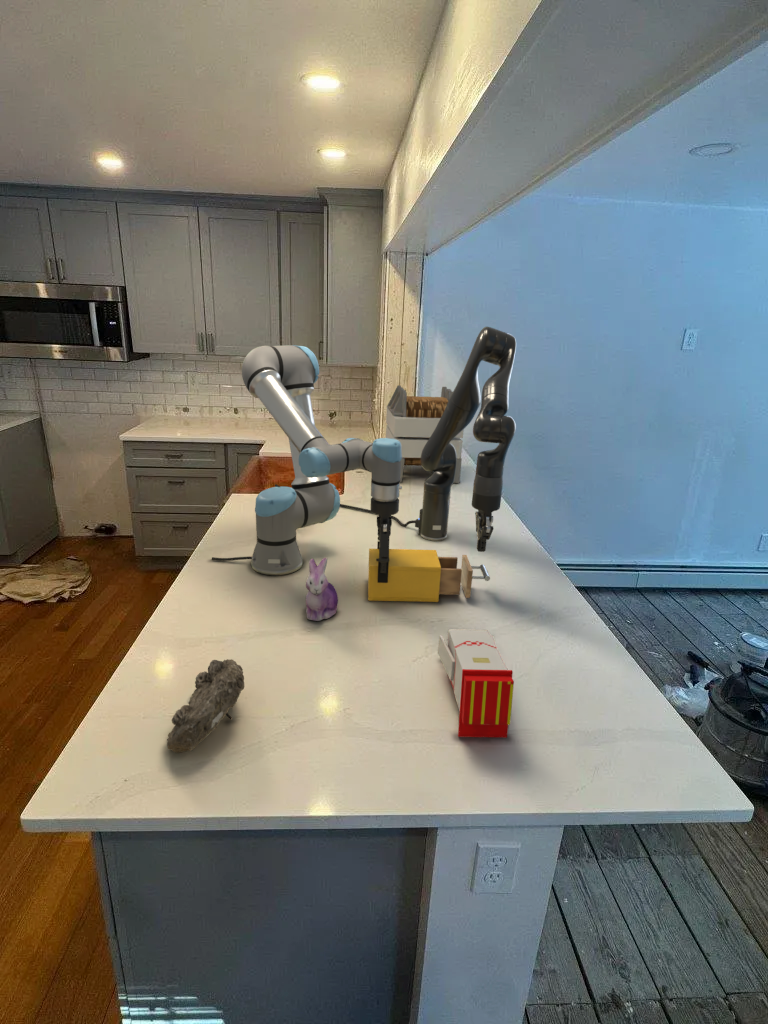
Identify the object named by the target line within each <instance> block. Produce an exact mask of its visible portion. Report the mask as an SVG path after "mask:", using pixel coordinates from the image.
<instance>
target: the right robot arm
mask: <svg viewBox="0 0 768 1024" xmlns="http://www.w3.org/2000/svg"><path fill="white" fill-rule="evenodd" d="M516 351H517V340H516V337H515V336H514V335H513V334H511V333H508V332H506V331H503V330H499V329H497V328H494V327H491V326H484V327H483V328H482V329H481V330H480V331H479V333H478V335H477V337H476V338H475V341H474V343H473V346H472V349H471V351H470V354H469V356H468V359H467V361H466V364H465V366H464V368H463V370H462V372H461V375H460V377H459V379H458V381H457V383H456V385H455V387H454V389H453V390H452V392H453V393H452V395H451V397H450V399H449V401H448V403H447V406H446V408H445V410H444V412H443V414H442V416H441V418H440V420H439V422H438V424H437V426H436V428H435V430H434V432H433V433H432V435H431V437H430V438H429V440H428V441H427V443H426V444H425V446H424V448H423V450H422V453H421V465H422V466H421V467H422V469H423V470H424V471H426V472H428V473H432V474H431V475H430V476H429V477H427V478H426V479H425V480H424V482H423V493H422V496H423V497H422V506H421V508H420V509H419V516H418V518H416V519H415V520H407V522H405V523H402V521H401V520H400V519H399V518H397V517H396V516H394V515H390V516H389V517H391V520H394V521H396V522H397V523H398V525H399V526H401V527H404V528H406V527H407V526H409V525H411V524H414V527H415V528H418V530H417V535H418V536H420V538H421V539H424V540H426V541H432V542H440V541H444V540H446V539H447V538H448V525H449V517H450V516H449V514H450V504H451V494H452V493H451V491H452V486H453V484H454V483H453V482H454V476H455V469H456V461H457V455H456V450H455V448H454V446H453V445H452V444H450V442H451V440H452V439H453V438H454V437H455V436H457V435H458V434H459V433H460V432H461V431H462V430H463V429H464V430H465V429H466V428H467V427H468V426H469V425H470V423H471V422H472V421H473V419H474V417H475V415H476V414H477V412H478V410H479V412H478V414H477V416H476V418H475V421H474V423H473V426H472V435H473V437H474V439H475V440H476V441H477V442H479V443H488V444H489V443H490V444H498V445H497V446H496V447H494V448H492V449H487V450H486V449H485V450H481V451H480V452H479V453H478V455H477V459H476V469H475V475H474V479H473V486H472V487H473V488H472V495H471V496H472V497H471V499H472V500H471V506H472V508H474V509H475V510H477V511H475V513H474V514H475V515H474V516H475V532H476V537H477V540H476V550H477V552H478V553H484V552H486V550H487V549H486V548H487V542H488V541H489V540H490V538H491V536H492V534H493V531H494V529H495V527H494V526H493V522H494V515H493V512H497V511H498V510H500V508H501V502H502V493H503V485H504V479H503V478H504V468H505V463H506V457H507V454H508V450H509V448H510V446H511V444H512V442H513V439H514V437H515V434H516V430H517V424H516V421H515V420H514V418H513V417H512V416H510V415H507V413H508V410H509V400H510V399H509V397H510V395H509V391H510V381H511V377H512V372H513V367H514V362H515V357H516V356H515V355H516ZM483 361H484V362H485V363H489V364H492V365H495V366H498V367H499V368H498V370H497V371H496V372H494V373H493V374H492V375H490V376H489V377H488V378H487V380H486V381H485V382H484V384H483V386H482V388H481V389H482V390H481V389H480V383H479V366H480V364H481V362H483ZM479 408H480V409H479ZM274 487H281V486H280V485H278V484H274ZM340 507H342V508H345V509H352V510H356V511H362V512H366V513H370V514H373V513H372V512H371V509H367V508H363V507H359V506H354V505H348V504H342V503H340Z"/></svg>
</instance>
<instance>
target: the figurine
mask: <svg viewBox="0 0 768 1024" xmlns="http://www.w3.org/2000/svg"><path fill="white" fill-rule="evenodd" d="M327 565H328V558H327V557H323V558H322V559H321V561H320V562H319V563H318V565H317V563H316V561H315V559H314V558H310V559H309V561H308V571H309V574H308V576H307V578H306V581H305V588H306V590H307V593H306V595H305V605H306V609H305V613H306V619H308V620H310V621H314V622H316V621H317V622H320V621H322V620H327V619H329V618H332V617H333V616H334V615H336V613H337V611H338V604H339V597H338V592H337V589H336V588H335V586H334V585H333V584H332V583H331V582H329V581H328V578H327V576H326V574H325V571H326V568H327Z"/></svg>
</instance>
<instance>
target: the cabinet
mask: <svg viewBox="0 0 768 1024" xmlns="http://www.w3.org/2000/svg"><path fill="white" fill-rule="evenodd" d="M438 557H439V556H438V551H437V549H411V548H410V549H409V548H408V549H406V548H389V565H388V583H378V561H376V559H379V549H377V548H368V569H367V570H368V571H367V573H368V576H367V587H368V588H367V600H368V601H370V602H371V601H375V602H421V603H422V602H425V603H428V602H429V603H438V602H439V600H440V599H439V598H440V594H439V587H440V574H441V566H440V562H439V559H438Z"/></svg>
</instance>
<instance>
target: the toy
mask: <svg viewBox="0 0 768 1024" xmlns="http://www.w3.org/2000/svg"><path fill="white" fill-rule="evenodd" d="M446 640H447V643H446V641H445V639H444V636H443V635H442V634H439V637H438V646H437V656H438V657H439V659H440V661H441V663H442V666H443V668H444V670H445V672H446V674H447V677H448V679H449V681H450V684H451V687H452V690H453V693H454V697H455V701H456V705H457V708H458V711H459V714H458V715H459V716H458V730H457V731H458V732H457V737H458V738H508V731H509V726H510V725H511V717H512V707H513V697H514V696H513V695H514V684H515V680H514V679H513V673H514V671H513V670H512V669H508V667H507V665H506V662H505V661H504V659H503V658H502V655H501V653H500V651H499V649H498V647H497V643H496V639H495V637H494V635H493V634H491V632H490V631H489V629H467V628H466V629H465V628H463V629H461V628H460V629H459V628H448V630H447V639H446Z"/></svg>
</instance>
